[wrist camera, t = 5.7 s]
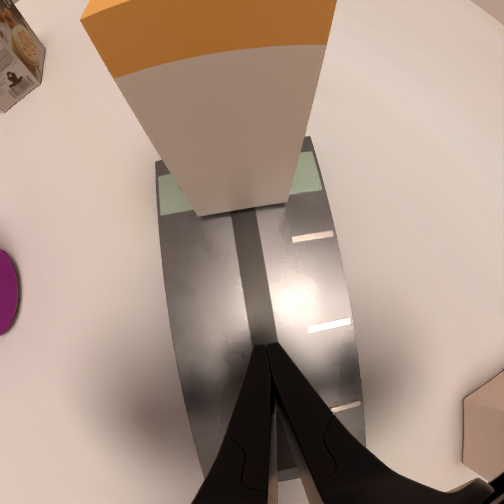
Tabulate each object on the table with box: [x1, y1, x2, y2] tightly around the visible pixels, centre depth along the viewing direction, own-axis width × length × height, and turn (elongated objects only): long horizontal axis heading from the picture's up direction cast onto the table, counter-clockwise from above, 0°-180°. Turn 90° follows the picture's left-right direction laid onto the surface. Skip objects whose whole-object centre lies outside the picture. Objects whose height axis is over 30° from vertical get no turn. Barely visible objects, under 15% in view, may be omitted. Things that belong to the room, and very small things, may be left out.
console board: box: [155, 136, 366, 482], centre depth 16 cm, size 21×10×2 cm, turn 9°
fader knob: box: [80, 0, 337, 217], centre depth 10 cm, size 4×5×13 cm
